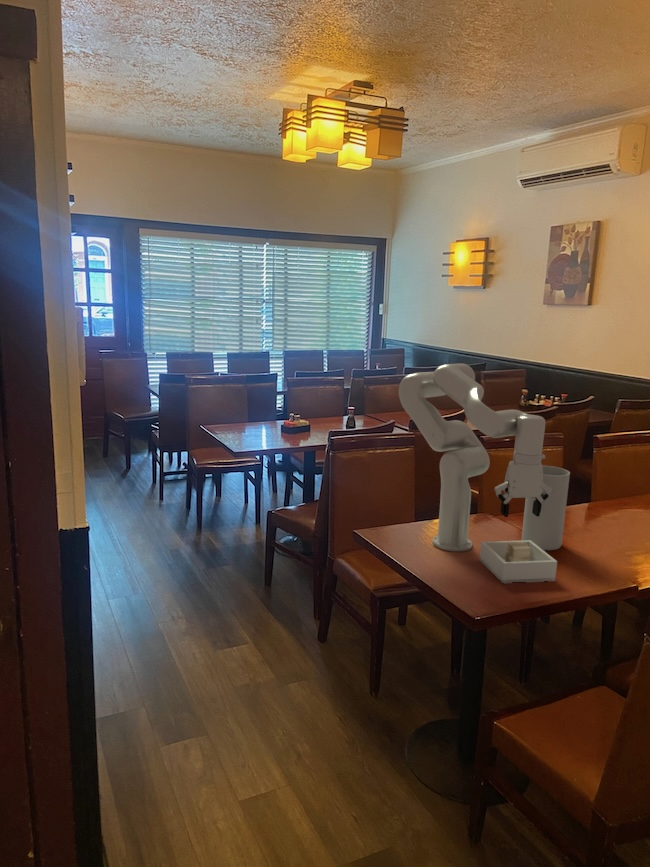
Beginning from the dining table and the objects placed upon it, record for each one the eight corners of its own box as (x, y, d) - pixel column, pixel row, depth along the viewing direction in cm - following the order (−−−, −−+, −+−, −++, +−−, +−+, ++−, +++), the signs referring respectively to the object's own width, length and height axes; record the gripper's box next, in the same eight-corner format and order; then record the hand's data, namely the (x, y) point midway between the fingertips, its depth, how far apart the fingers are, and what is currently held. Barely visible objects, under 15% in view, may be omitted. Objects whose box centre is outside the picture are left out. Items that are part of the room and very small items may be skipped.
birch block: (504, 564, 187) (506, 541, 185) (520, 563, 187) (522, 541, 186) (512, 571, 182) (514, 548, 180) (528, 570, 183) (530, 547, 181)
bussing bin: (479, 560, 191) (481, 541, 190) (528, 558, 194) (530, 540, 193) (502, 583, 176) (504, 563, 175) (555, 581, 178) (557, 561, 177)
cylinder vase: (514, 543, 206) (521, 469, 201) (532, 534, 215) (539, 463, 209) (550, 554, 197) (559, 478, 192) (567, 544, 206) (576, 471, 201)
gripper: (548, 454, 183) (541, 510, 187) (492, 454, 180) (486, 511, 184) (562, 461, 176) (554, 519, 179) (504, 462, 173) (497, 520, 177)
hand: (520, 515), depth 182 cm, fingers open, 9 cm apart
